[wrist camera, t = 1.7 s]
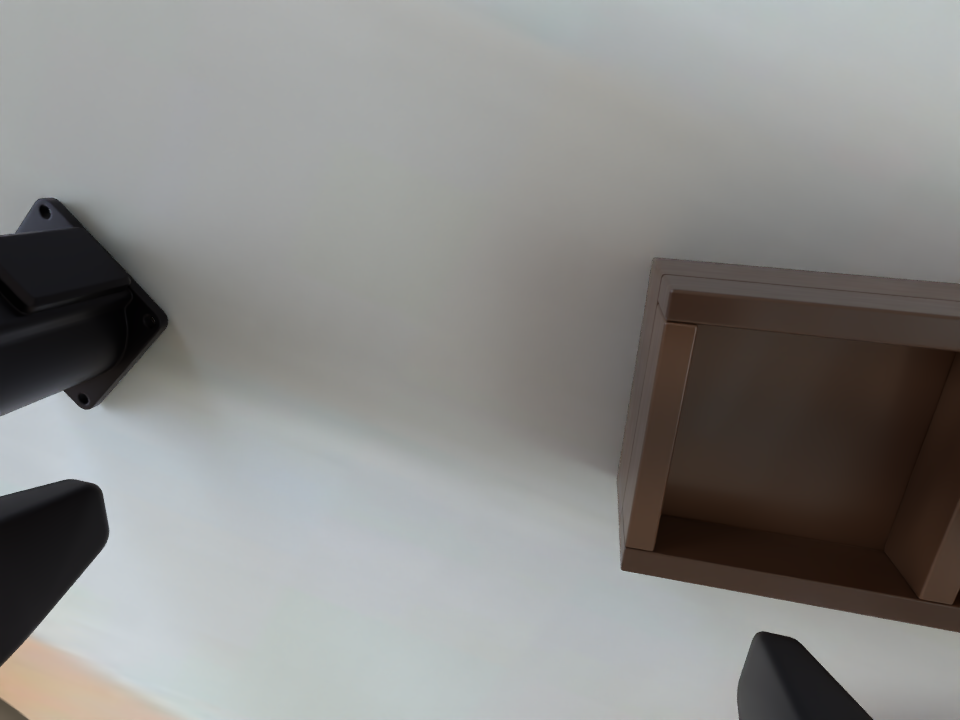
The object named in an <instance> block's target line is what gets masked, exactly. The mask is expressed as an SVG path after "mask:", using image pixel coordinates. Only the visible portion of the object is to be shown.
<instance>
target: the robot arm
mask: <svg viewBox="0 0 960 720" xmlns="http://www.w3.org/2000/svg"><path fill="white" fill-rule="evenodd" d="M49 209H50V211H51V214H50V211H49ZM151 317H153V319H154V320H155V324H154V323H153V321H152V318H151ZM167 325H168V319H167V316H166V314H165V313H164V311H163V310H162V309H161V308H160V307H159V306H158V305H157V304H156V303H155V302H154V301H153V300H152V299H151V298H150V297H149V295H148V294H147V293H146V292H145V291H144V290H143V289H142V288H141V287H140V286H139V285H138V284H137V283H136V282H135V281H134V280H133V279H132V277H131V276H130V275H129V274H128V273H127V272H126V271H125V270H124V269H123V268H122V267H121V266H120V265H119V264H118V263H117V262H116V261H115V259H114V258H113V257H112V256H111V255H110V254H109V253H108V252H107V251H106V250H105V249H104V248H103V247H102V246H101V245H100V244H99V243H98V241H97V240H96V239H95V238H94V237H93V236H92V235H91V234H90V233H89V232H88V231H87V230H86V229H85V228H84V227H83V226H82V225H81V223H80V222H79V221H78V220H77V219H76V218H75V217H74V216H73V215H72V214H71V213H70V212H69V211H68V210H67V209H66V208H65V206H64V205H63V204H62V203H61V202H59V201H58V200H57V199H54V198H42V199H38V200H37V201H36V202H35V203H34V205H33V206H32V208H31V209H30V211H29V213H28V214H27V216H26V217H25V219H24V220H23V222H22V223H21V225H20V227H19V228H18V230H17V231H16V233H15V234H8V235H0V416H2V415H5V414H7V413H10V412H12V411H14V410H17V409H19V408H22V407H24V406H27V405H29V404H31V403H34V402H36V401H39V400H41V399H43V398H46V397H48V396H51V395H53V394H56V393H58V392H60V391H64V392H65V393H66V394H67V395H68V396H69V397H70V398H71V399H72V400H73V401H74V402H75V403H76V404H77V405H78V406H80V407H81V408H83V409H91V408H93V407H95V406H97V405H99V404H100V403H101V402H102V401H103V400H104V399H105V397H106V396H107V395H108V394H109V393H110V392H111V391H112V389H113V388H114V387H115V386H116V385H117V384H118V383H119V381H120V380H121V379H122V378H123V377H124V376H125V375H126V374H127V372H128V371H129V370H130V369H131V368H132V367H133V366H134V364H135V363H136V362H137V361H138V360H139V359H140V358H141V356H142V355H143V354H144V353H145V352H146V351H147V350H148V348H149V347H150V346H151V345H152V344H153V343H154V342H155V340H156V339H157V338H158V337H159V336H160V335H161V334H162V332H163V331H164V330H165V329H166V327H167ZM108 537H109V525H108V520H107V514H106V509H105V503H104V498H103V493H102V490H101V489H100V488H99V486H97V485H95V484H93V483H89V482H84V481H80V480H74V479H67V480H62V481H59V482H55V483H51V484H47V485H43V486H39V487H35V488H32V489H28V490H24V491H20V492H16V493H12V494H8V495H4V496H1V497H0V667H1V666H2V665H3V664H4V662H5V661H6V660H7V659H8V658H9V657H10V656H11V655H12V654H13V653H14V652H15V651H16V650H17V649H18V648H19V647H20V646H21V645H22V644H23V642H24V641H25V640H26V639H27V638H28V637H29V636H30V634H31V633H32V632H33V631H34V630H35V629H36V628H37V626H38V625H39V624H40V623H41V622H42V620H43V619H44V618H45V617H46V616H47V615H48V613H49V612H50V611H51V610H52V609H53V607H54V606H55V605H56V604H57V603H58V601H59V600H60V599H61V598H62V597H63V596H64V594H65V593H66V592H67V591H68V590H69V588H70V587H71V586H72V585H73V584H74V583H75V581H76V580H77V579H78V578H79V577H80V575H81V574H82V573H83V572H84V571H85V569H86V568H87V567H88V566H89V565H90V564H91V562H92V561H93V560H94V559H95V558H96V556H97V555H98V554H99V553H100V552H101V550H102V549H103V548H104V546H105V544H106V543H107V540H108ZM737 704H738V713H739V720H873V719H872V718H871V717H870V716H869V715H868V713H867V712H866V711H865V710H864V709H863V708H862V707H861V706H860V705H859V704H858V703H857V702H856V701H855V700H854V699H853V698H852V697H851V696H850V695H849V694H848V692H847V691H846V690H845V689H844V688H843V687H842V686H841V685H840V684H839V683H838V682H837V681H836V680H835V679H834V678H833V677H832V676H831V675H830V674H829V673H828V671H827V670H826V669H825V668H824V667H823V666H822V665H821V664H820V663H819V662H818V661H817V660H816V659H815V658H814V657H813V656H812V655H811V654H810V653H809V652H808V650H807V649H806V648H805V647H804V646H803V645H802V644H801V643H800V642H798V641H797V640H795V639H793V638H791V637H787V636H782V635H778V634H773V633H769V632H763V631H762V632H758V633H757V634H756V635H755V636H754V638H753V640H752V642H751V645H750V648H749V651H748V654H747V657H746V661H745V664H744V667H743V670H742V673H741V676H740V679H739V682H738V689H737Z"/></svg>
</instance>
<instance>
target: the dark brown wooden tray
mask: <svg viewBox="0 0 960 720" xmlns="http://www.w3.org/2000/svg"><path fill="white" fill-rule="evenodd" d="M617 491H618V514H619V539H620V562H621V570H623V571H628V572H634V573H639V574H645V575H650V576H655V577H661V578H666V579H672V580H677V581H683V582H688V583H693V584H699V585H704V586H710V587H715V588H720V589H726V590H731V591H737V592H742V593H748V594H753V595H758V596H764V597H769V598H775V599H780V600H786V601H791V602H796V603H802V604H807V605H813V606H818V607H824V608H829V609H834V610H840V611H845V612H851V613H856V614H861V615H867V616H872V617H878V618H883V619H889V620H894V621H899V622H905V623H910V624H916V625H921V626H927V627H932V628H937V629H943V630H948V631H954V632H959V633H960V284H953V283H941V282H930V281H918V280H907V279H895V278H884V277H872V276H861V275H849V274H838V273H826V272H815V271H804V270H792V269H781V268H769V267H758V266H746V265H735V264H723V263H712V262H700V261H689V260H677V259H666V258H654V259H653V260H652V266H651V272H650V279H649V285H648V291H647V297H646V303H645V309H644V315H643V322H642V328H641V334H640V340H639V346H638V352H637V358H636V365H635V371H634V377H633V383H632V389H631V395H630V402H629V408H628V414H627V420H626V426H625V432H624V438H623V445H622V451H621V457H620V463H619V469H618V475H617Z"/></svg>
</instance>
